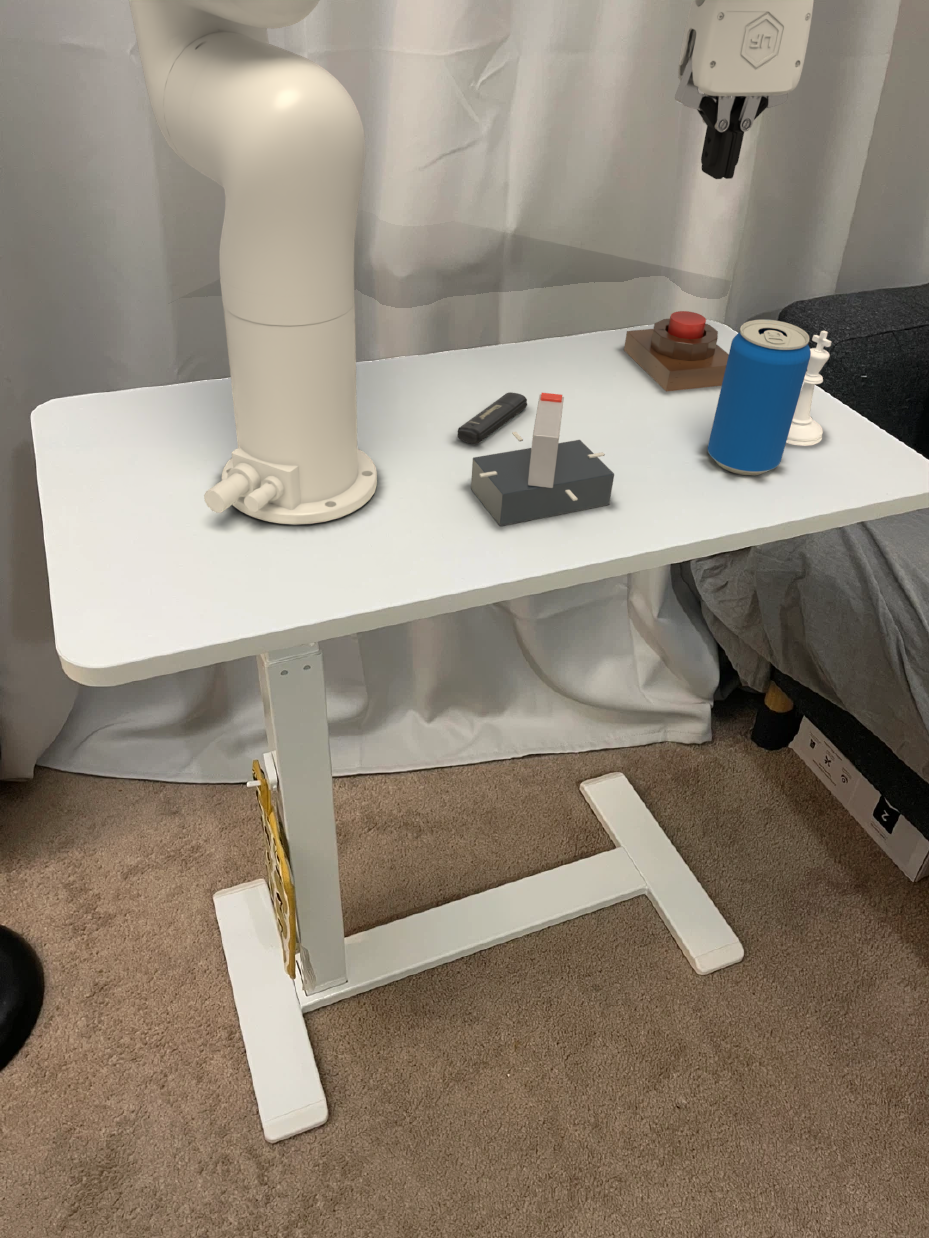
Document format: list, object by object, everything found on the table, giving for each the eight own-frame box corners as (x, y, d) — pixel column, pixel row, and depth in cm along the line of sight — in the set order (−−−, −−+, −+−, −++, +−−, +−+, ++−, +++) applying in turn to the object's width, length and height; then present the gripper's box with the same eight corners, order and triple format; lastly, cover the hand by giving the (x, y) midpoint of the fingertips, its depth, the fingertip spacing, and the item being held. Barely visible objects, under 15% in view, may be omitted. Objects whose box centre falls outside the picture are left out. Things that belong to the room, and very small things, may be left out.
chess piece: (791, 416, 97) (819, 316, 91) (832, 437, 94) (864, 336, 88) (757, 428, 95) (784, 327, 88) (798, 451, 92) (829, 347, 85)
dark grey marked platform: (506, 545, 77) (510, 511, 75) (451, 474, 85) (453, 441, 83) (631, 520, 81) (638, 486, 79) (568, 454, 89) (572, 422, 87)
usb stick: (505, 402, 96) (506, 387, 95) (529, 409, 95) (531, 395, 94) (453, 440, 90) (454, 425, 89) (478, 449, 89) (479, 434, 88)
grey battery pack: (552, 488, 79) (559, 434, 76) (527, 485, 79) (533, 431, 76) (558, 445, 84) (564, 393, 81) (534, 442, 84) (539, 391, 81)
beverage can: (773, 446, 92) (807, 321, 84) (783, 483, 87) (821, 353, 79) (702, 440, 92) (730, 314, 85) (709, 476, 87) (739, 345, 80)
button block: (736, 384, 102) (745, 347, 99) (666, 392, 100) (673, 354, 97) (689, 344, 109) (697, 309, 107) (623, 350, 107) (629, 314, 105)
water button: (709, 340, 101) (712, 323, 100) (677, 343, 100) (680, 326, 99) (692, 326, 104) (695, 309, 103) (661, 328, 103) (664, 312, 102)
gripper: (704, -61, 76) (662, 190, 88) (869, -56, 80) (808, 184, 92) (660, -72, 82) (626, 166, 93) (816, -66, 86) (765, 161, 97)
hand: (716, 174), depth 93 cm, fingers closed
